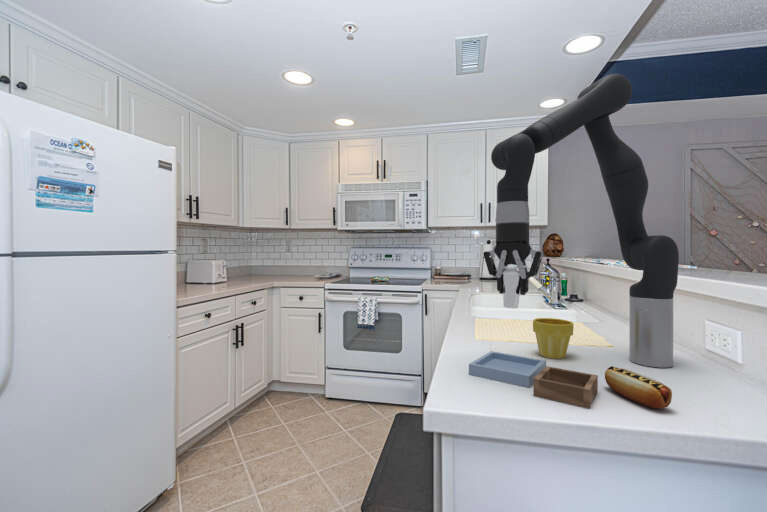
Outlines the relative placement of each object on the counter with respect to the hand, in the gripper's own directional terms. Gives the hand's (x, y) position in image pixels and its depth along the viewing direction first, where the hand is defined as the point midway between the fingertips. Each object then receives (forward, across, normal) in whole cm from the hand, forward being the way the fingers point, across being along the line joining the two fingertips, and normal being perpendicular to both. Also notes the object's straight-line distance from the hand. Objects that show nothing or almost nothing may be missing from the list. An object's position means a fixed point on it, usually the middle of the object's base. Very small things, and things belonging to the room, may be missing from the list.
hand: (512, 293), depth 86 cm
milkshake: (+3, 0, 0) cm, 3 cm away
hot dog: (+20, -24, 0) cm, 31 cm away
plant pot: (+20, -4, -23) cm, 30 cm away
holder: (+19, -13, +6) cm, 24 cm away
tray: (+19, +1, -1) cm, 19 cm away
